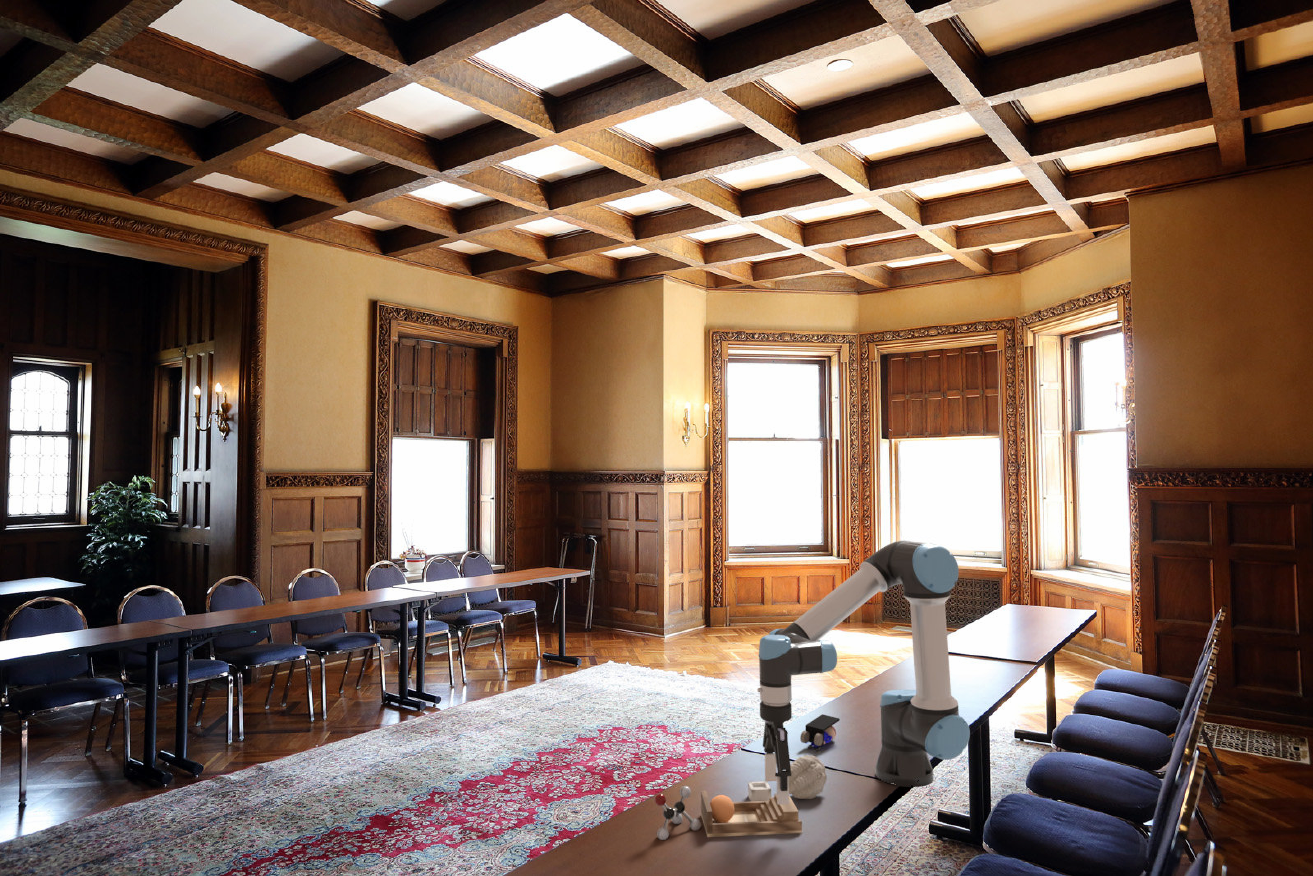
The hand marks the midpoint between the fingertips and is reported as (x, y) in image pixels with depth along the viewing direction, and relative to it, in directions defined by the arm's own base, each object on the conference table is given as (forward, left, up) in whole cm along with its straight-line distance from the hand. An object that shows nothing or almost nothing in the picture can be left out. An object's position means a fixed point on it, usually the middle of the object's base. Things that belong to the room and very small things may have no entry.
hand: (776, 792), depth 190 cm
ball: (+13, 0, -4) cm, 14 cm away
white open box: (+2, -14, -8) cm, 16 cm away
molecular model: (+25, +3, -8) cm, 26 cm away
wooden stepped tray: (+6, 0, -8) cm, 10 cm away
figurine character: (-20, -47, -5) cm, 51 cm away
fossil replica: (-10, -15, -8) cm, 20 cm away
